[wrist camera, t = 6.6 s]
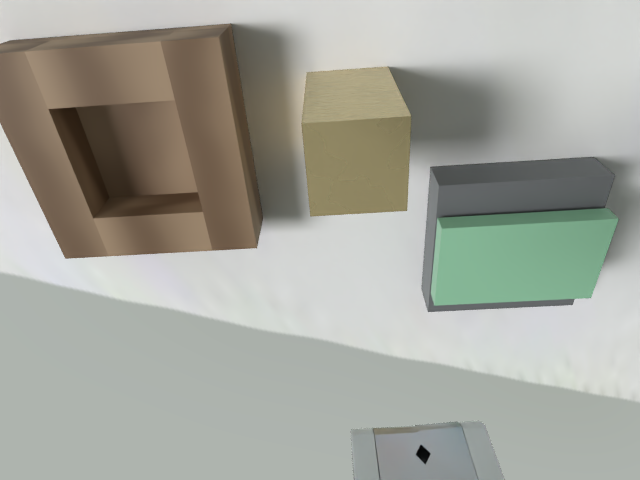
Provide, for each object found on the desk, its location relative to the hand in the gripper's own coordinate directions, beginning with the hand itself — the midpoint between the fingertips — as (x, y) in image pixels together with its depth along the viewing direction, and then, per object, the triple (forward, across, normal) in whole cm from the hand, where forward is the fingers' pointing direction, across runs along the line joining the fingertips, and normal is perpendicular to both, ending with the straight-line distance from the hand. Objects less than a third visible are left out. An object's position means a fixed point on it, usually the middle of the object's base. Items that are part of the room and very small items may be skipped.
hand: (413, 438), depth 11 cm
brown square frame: (+20, +12, 0) cm, 24 cm away
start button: (+19, -10, +8) cm, 23 cm away
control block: (+20, -10, +8) cm, 24 cm away
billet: (+20, 0, -1) cm, 20 cm away
